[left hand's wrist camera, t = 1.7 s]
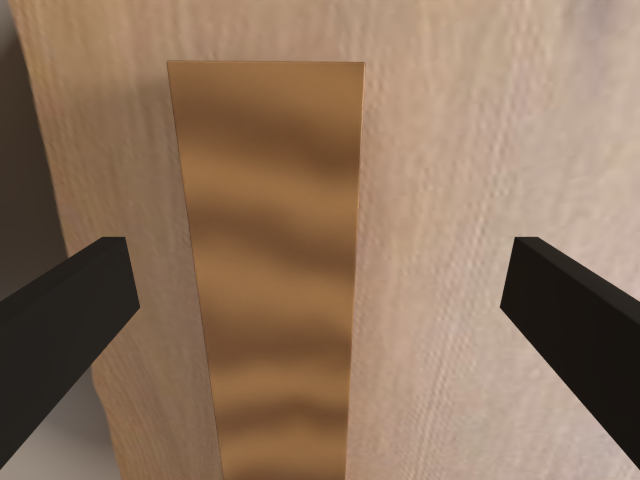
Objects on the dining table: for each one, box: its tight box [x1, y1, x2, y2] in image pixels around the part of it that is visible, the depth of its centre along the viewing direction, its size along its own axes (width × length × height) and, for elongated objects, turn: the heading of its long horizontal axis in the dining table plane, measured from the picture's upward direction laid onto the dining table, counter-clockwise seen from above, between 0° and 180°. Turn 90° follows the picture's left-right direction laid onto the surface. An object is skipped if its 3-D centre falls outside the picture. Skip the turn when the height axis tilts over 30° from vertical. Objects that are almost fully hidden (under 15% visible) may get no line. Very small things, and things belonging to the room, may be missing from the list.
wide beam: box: [167, 61, 366, 480], centre depth 31 cm, size 57×9×7 cm, turn 0°
